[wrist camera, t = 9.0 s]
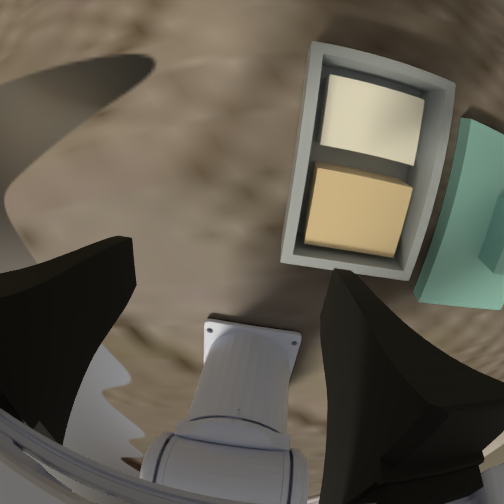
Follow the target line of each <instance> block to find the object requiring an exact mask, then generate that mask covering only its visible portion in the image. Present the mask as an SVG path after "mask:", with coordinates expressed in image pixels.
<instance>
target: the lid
mask: <svg viewBox="0 0 504 504" xmlns="http://www.w3.org/2000/svg"><path fill="white" fill-rule="evenodd" d="M413 293H414V295H415V297H416V299H417V300H418V302H422V303H431V304H441V305H451V306H461V307H472V308H482V309H494V310H500V309H501V307H502V305H503V304H504V135H503V134H502V133H500V132H498V131H496V130H494V129H492V128H490V127H488V126H486V125H483V124H481V123H479V122H477V121H475V120H473V119H469V118H461V119H460V126H459V132H458V138H457V144H456V149H455V154H454V159H453V164H452V169H451V173H450V178H449V182H448V186H447V190H446V194H445V198H444V201H443V205H442V209H441V212H440V216H439V219H438V222H437V226H436V229H435V232H434V235H433V238H432V241H431V244H430V247H429V250H428V253H427V256H426V259H425V262H424V264H423V267H422V270H421V272H420V275H419V278H418V280H417V283H416V285H415V288H414V290H413Z"/></svg>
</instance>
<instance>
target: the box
mask: <svg viewBox="0 0 504 504" xmlns="http://www.w3.org/2000/svg"><path fill="white" fill-rule="evenodd" d="M455 88H456V83H454V82H452V81H449V80H447V79H445V78H442V77H440V76H437V75H435V74H432V73H430V72H427V71H424V70H422V69H419V68H416V67H413V66H410V65H407V64H404V63H401V62H398V61H395V60H392V59H389V58H385V57H382V56H378V55H375V54H371V53H367V52H363V51H359V50H355V49H351V48H347V47H342V46H337V45H332V44H327V43H322V42H316V41H312V42H311V45H310V48H309V51H308V54H307V60H306V69H305V77H304V85H303V93H302V101H301V108H300V116H299V123H298V131H297V138H296V145H295V152H294V159H293V166H292V173H291V180H290V187H289V193H288V200H287V206H286V213H285V219H284V225H283V232H282V243H281V259H280V263H287V264H293V265H300V266H307V267H314V268H321V269H328V270H334V268H338V269H345V270H351V271H352V272H354V273H355V274H362V275H369V276H376V277H383V278H390V279H397V280H404V281H409V279H410V276H411V274H412V271H413V268H414V266H415V263H416V260H417V257H418V254H419V251H420V248H421V245H422V242H423V239H424V236H425V233H426V230H427V226H428V223H429V220H430V216H431V213H432V209H433V206H434V202H435V198H436V194H437V190H438V186H439V182H440V178H441V174H442V169H443V165H444V160H445V155H446V150H447V145H448V139H449V133H450V127H451V121H452V114H453V106H454V98H455Z"/></svg>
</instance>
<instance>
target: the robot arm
mask: <svg viewBox="0 0 504 504" xmlns="http://www.w3.org/2000/svg"><path fill="white" fill-rule="evenodd" d="M136 285H137V284H136V276H135V266H134V255H133V244H132V238H130V237H123V236H114V237H110V238H107V239H104V240H101V241H99V242H96V243H93V244H91V245H88V246H85V247H83V248H80V249H78V250H75V251H73V252H70V253H68V254H65V255H62V256H59V257H57V258H54V259H51V260H49V261H46V262H43V263H40V264H37V265H34V266H30V267H26V268H23V269H19V270H14V271H9V272H5V273H0V504H97V503H95V502H93V501H90V500H88V499H86V498H84V497H82V496H80V495H78V494H76V493H74V492H72V490H71V489H69V488H68V487H67V486H65V485H64V484H62V483H61V482H60V481H58V480H57V479H56V478H54V477H53V476H52V475H51V474H49V473H48V472H47V471H46V470H45V469H44V468H43V467H42V466H41V465H40V464H39V463H38V462H36V461H35V460H34V459H32V458H31V457H30V456H28V455H27V454H25V453H24V452H23V451H25V452H26V453H28V454H29V455H31V456H32V457H34V458H36V459H37V460H39V461H41V462H42V463H44V464H46V465H47V466H49V467H51V468H53V469H55V470H56V471H58V472H60V473H62V474H64V475H65V476H67V477H69V478H71V479H74V480H75V481H78V482H80V483H81V484H83V485H86V486H88V487H90V488H92V489H94V490H97V491H99V492H101V493H104V494H106V495H108V496H111V497H113V498H116V499H118V500H121V501H124V502H127V503H129V504H307V499H308V490H309V465H308V460H307V458H306V457H305V456H304V454H303V453H302V452H301V450H300V449H295V448H291V449H290V435H289V434H286V431H287V412H288V389H289V379H290V376H291V373H292V370H293V367H294V363H295V360H296V357H297V353H298V350H299V347H300V343H301V340H302V335H301V334H300V333H299V332H294V331H287V330H279V329H272V328H265V327H258V326H252V325H245V324H239V323H233V322H227V321H221V320H216V319H207V320H206V321H205V324H204V367H203V370H202V373H201V376H200V379H199V382H198V385H197V389H196V392H195V395H194V398H193V401H192V404H191V408H190V411H189V414H188V417H187V420H186V421H183V420H179V421H178V424H177V427H176V430H175V432H170V431H165V432H163V433H162V434H160V436H158V437H157V438H155V439H154V440H153V441H152V442H151V444H150V446H149V447H148V449H147V451H146V454H145V456H144V459H143V463H142V467H141V472H140V478H138V477H135V476H132V475H129V474H126V473H124V472H121V471H118V470H116V469H113V468H110V467H108V466H106V465H103V464H101V463H98V462H96V461H93V460H91V459H89V458H87V457H84V456H82V455H80V454H78V453H76V452H74V451H72V450H70V449H68V448H66V447H64V446H63V440H64V436H65V432H66V428H67V423H68V420H69V416H70V413H71V410H72V407H73V404H74V401H75V398H76V395H77V392H78V390H79V387H80V385H81V382H82V380H83V377H84V375H85V373H86V371H87V368H88V366H89V364H90V362H91V360H92V358H93V356H94V354H95V353H96V351H97V349H98V347H99V346H100V344H101V343H102V341H103V340H104V338H105V337H106V335H107V334H108V332H109V331H110V329H111V328H112V326H113V325H114V323H115V322H116V320H117V319H118V317H119V316H120V315H121V313H122V312H123V310H124V309H125V307H126V305H127V303H128V302H129V300H130V298H131V296H132V293H133V291H134V289H135V287H136ZM209 328H211V329H212V330H210V329H209ZM320 335H321V347H322V355H323V363H324V371H325V379H326V387H327V400H328V412H327V438H326V453H325V463H324V472H323V480H322V487H321V493H320V500H319V504H504V463H502V464H499V465H497V466H494V467H492V468H489V469H487V470H486V471H483V472H482V473H480V469H479V466H478V465H480V464H481V463H483V462H484V456H483V453H482V450H483V449H484V448H486V447H487V446H488V445H489V444H490V443H491V442H492V441H493V440H495V439H496V438H497V437H498V436H499V435H500V434H501V433H502V432H503V431H504V382H502V381H499V380H497V379H494V378H492V377H490V376H487V375H485V374H483V373H480V372H478V371H476V370H474V369H472V368H470V367H469V366H467V365H465V364H463V363H461V362H459V361H458V360H456V359H454V358H452V357H451V356H449V355H447V354H446V353H444V352H443V351H441V350H440V349H438V348H437V347H435V346H434V345H432V344H431V343H430V342H428V341H427V340H425V339H424V338H423V337H422V336H420V335H419V334H418V333H416V332H415V331H414V330H413V329H411V328H410V327H409V326H408V325H407V324H405V323H404V322H403V321H402V320H401V319H400V318H399V317H398V316H397V315H396V314H394V313H393V312H392V311H391V310H390V309H389V308H388V307H387V306H386V305H385V304H384V303H383V302H382V301H381V300H380V299H379V298H378V297H377V296H376V295H375V294H374V293H373V292H372V291H371V290H370V289H369V288H368V286H367V285H366V284H365V283H364V282H363V281H362V280H361V279H360V278H359V277H358V276H357V275H356V274H355V273H354V272H352V271H351V270H345V269H338V268H334V270H333V274H332V277H331V281H330V284H329V288H328V292H327V295H326V298H325V302H324V305H323V309H322V312H321V322H320ZM293 341H296V342H295V343H293Z"/></svg>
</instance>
